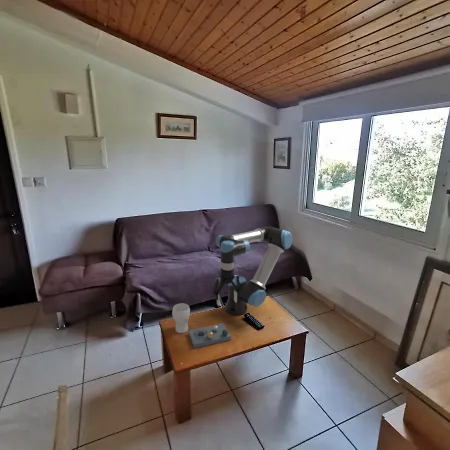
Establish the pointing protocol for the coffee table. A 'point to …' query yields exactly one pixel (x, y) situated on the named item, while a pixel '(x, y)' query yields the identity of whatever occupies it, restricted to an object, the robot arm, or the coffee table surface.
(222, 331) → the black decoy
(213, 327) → the steel ball
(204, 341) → the plate
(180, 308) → the cup
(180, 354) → the coffee table surface
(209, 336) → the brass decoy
